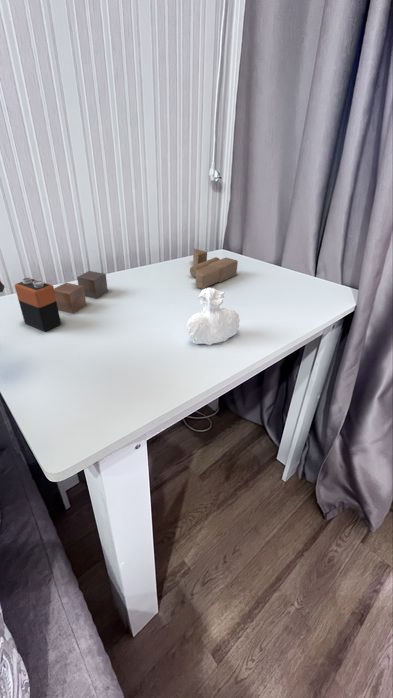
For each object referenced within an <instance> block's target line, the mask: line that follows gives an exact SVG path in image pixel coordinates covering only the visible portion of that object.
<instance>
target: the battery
mask: <svg viewBox="0 0 393 698" xmlns="http://www.w3.org/2000/svg"><path fill="white" fill-rule="evenodd" d="M54 288H55V287H54V285H52V284H50V283H47V282H44V280H42V279H35V278H31V277H24V278H22V281H20V282H17V283H15V284H14V289H15V292H16V296H17V300H18V304H19V307H20V311H21V314H22V319H23V322H24V324H25V325H27V326H30V327H32V328H34V329H38V330H39V331H42V332H49V331H50V330H52V329H55V328H56V327H58V326H61V324H62V321H61V317H60V313H59V310H58V307H57V302H56V297H55V292H54Z"/></svg>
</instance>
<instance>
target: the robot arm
mask: <svg viewBox="0 0 393 698" xmlns="http://www.w3.org/2000/svg"><path fill="white" fill-rule="evenodd" d="M5 287H6V286H5V284H3V282H2V281H1V280H0V293H3V292H4V290H5Z"/></svg>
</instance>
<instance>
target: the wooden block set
mask: <svg viewBox="0 0 393 698" xmlns="http://www.w3.org/2000/svg"><path fill="white" fill-rule="evenodd" d="M192 255H193V256H192V263H193V265H192V266H191V267H190V268H189V274H190V275H191V276H192V277H193V278H195V285H196V287H197V288H199V289H201V290H203V289H205V288H206V289H207V288H209V287H210V286H212V285H215V284H216V283H222V282H224V281H226V280H228V279H231V278H233V277H234V276H236V275H237V272H238V263H239V262H238V259H234V258H230V257H223V258H221V259H220V258H219V257H217V256H215V257H213V258H210V259H208V251H205V250H201V249H198V248H193V254H192Z"/></svg>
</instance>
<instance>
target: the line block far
mask: <svg viewBox="0 0 393 698" xmlns="http://www.w3.org/2000/svg"><path fill="white" fill-rule="evenodd" d="M76 279H77V285H80V286H84V293H85V298H91V299H93V300H94V299H95V300H97V299H100V298H101V297H103V296H104V295H105V294H107V293H108V292H109V290H108V280H107V274H106V273H103V272H97V271H92V270H88V271H86V272H83V273H82V274H80V275H78V276H77V277H76Z"/></svg>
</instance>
